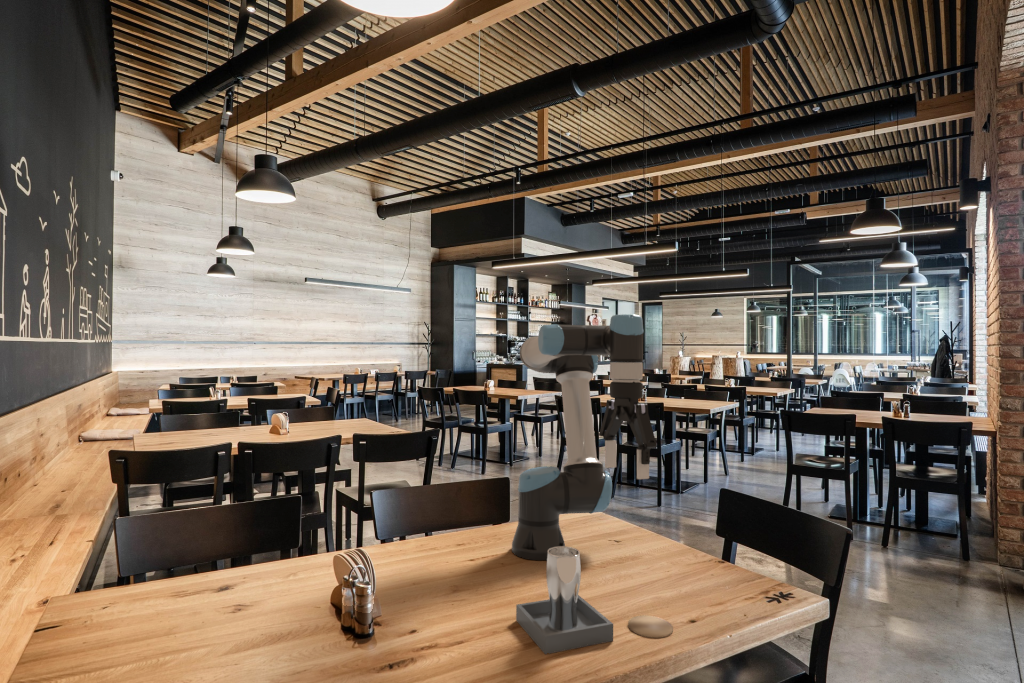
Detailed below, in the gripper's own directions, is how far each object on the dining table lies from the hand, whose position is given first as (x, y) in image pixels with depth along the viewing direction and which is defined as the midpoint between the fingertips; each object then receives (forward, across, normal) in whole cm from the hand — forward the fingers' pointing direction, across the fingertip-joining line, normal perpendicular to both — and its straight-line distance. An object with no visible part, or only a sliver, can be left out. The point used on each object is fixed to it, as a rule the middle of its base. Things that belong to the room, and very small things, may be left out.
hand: (626, 472), depth 133 cm
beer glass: (+28, -9, +20) cm, 36 cm away
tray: (+29, -9, +20) cm, 36 cm away
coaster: (+29, -14, +3) cm, 32 cm away
